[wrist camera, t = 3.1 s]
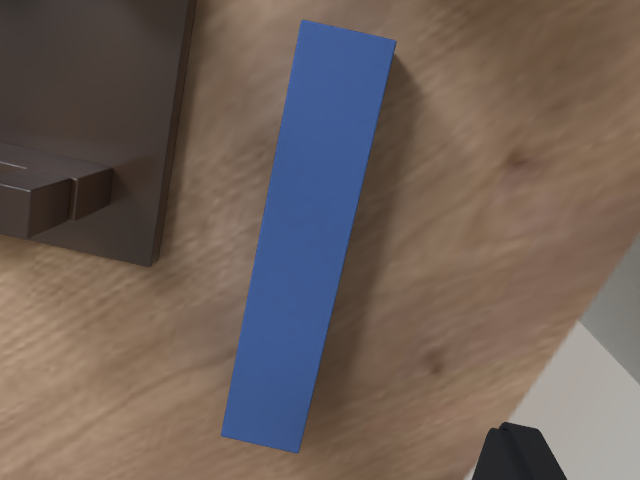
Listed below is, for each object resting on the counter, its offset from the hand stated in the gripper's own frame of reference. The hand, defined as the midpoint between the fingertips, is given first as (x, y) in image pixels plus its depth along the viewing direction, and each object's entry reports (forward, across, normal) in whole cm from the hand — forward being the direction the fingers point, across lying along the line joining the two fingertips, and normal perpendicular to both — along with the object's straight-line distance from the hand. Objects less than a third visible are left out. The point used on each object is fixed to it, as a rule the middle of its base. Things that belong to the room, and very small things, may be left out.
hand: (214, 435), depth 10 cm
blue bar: (+14, -1, 0) cm, 15 cm away
